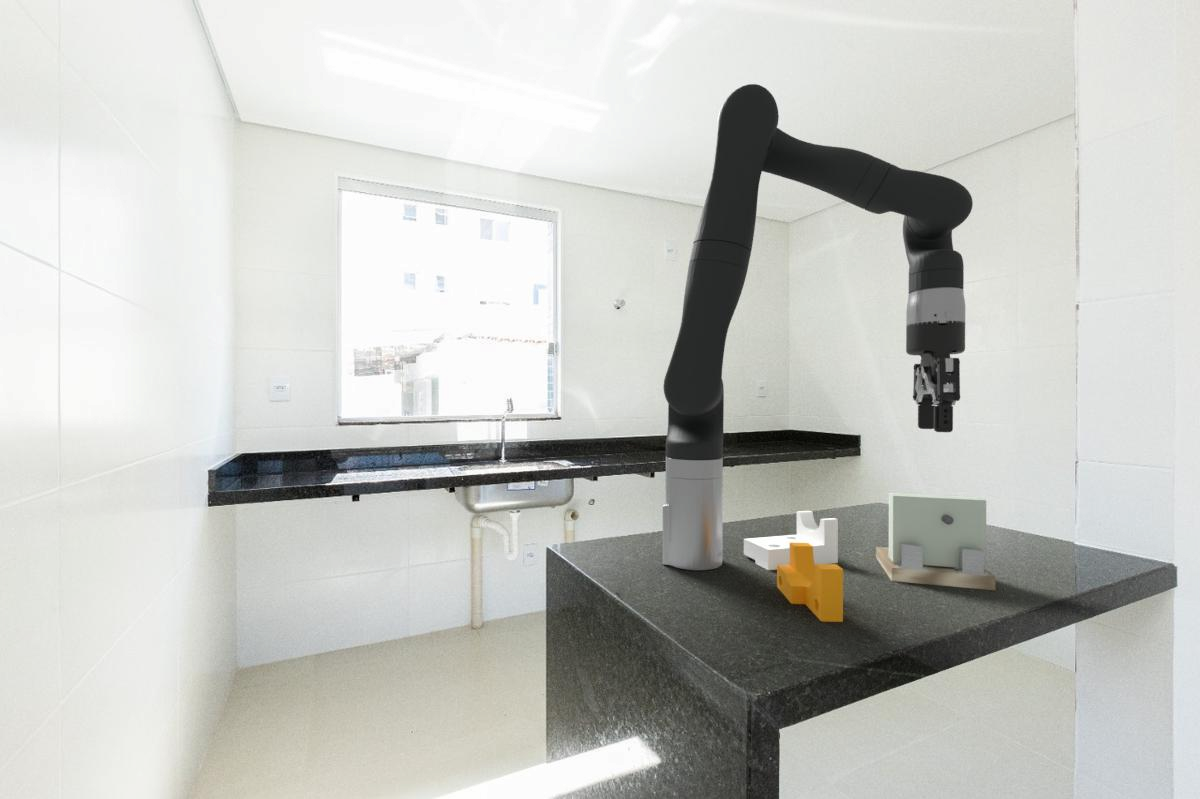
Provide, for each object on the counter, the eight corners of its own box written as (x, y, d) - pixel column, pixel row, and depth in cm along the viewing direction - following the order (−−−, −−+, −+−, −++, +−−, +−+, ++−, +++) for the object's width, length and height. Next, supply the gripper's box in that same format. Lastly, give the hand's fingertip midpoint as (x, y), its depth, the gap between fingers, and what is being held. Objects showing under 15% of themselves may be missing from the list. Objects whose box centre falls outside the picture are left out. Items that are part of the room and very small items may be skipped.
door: (894, 564, 80) (894, 496, 80) (888, 556, 84) (888, 492, 84) (988, 572, 76) (989, 501, 76) (978, 563, 80) (978, 496, 80)
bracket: (809, 553, 95) (809, 510, 95) (837, 565, 88) (837, 519, 88) (743, 559, 91) (743, 514, 91) (768, 572, 84) (768, 524, 84)
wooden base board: (891, 581, 79) (891, 567, 79) (875, 558, 91) (875, 546, 91) (995, 590, 75) (995, 576, 75) (965, 565, 87) (965, 553, 87)
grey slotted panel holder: (898, 568, 79) (898, 544, 79) (888, 555, 85) (888, 533, 85) (987, 575, 76) (987, 550, 76) (970, 562, 82) (970, 539, 82)
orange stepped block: (777, 587, 77) (777, 542, 77) (807, 588, 77) (807, 542, 77) (806, 622, 65) (806, 568, 65) (842, 622, 65) (843, 569, 65)
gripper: (896, 329, 89) (895, 427, 89) (919, 316, 75) (918, 432, 75) (948, 327, 87) (947, 428, 87) (982, 314, 73) (981, 433, 73)
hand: (934, 430), depth 81 cm, fingers open, 8 cm apart
